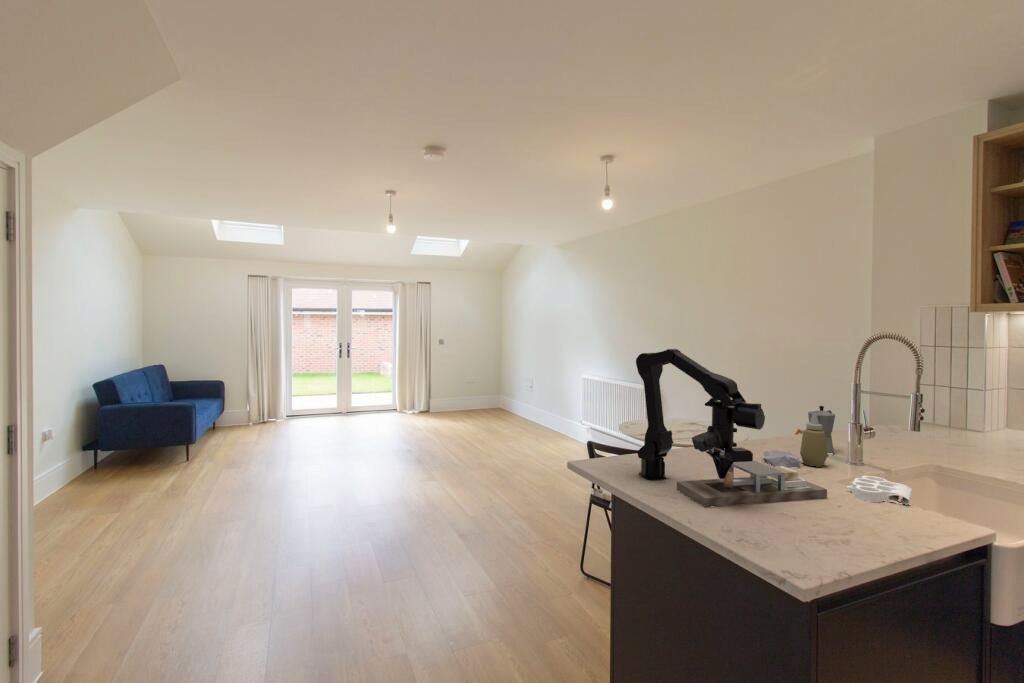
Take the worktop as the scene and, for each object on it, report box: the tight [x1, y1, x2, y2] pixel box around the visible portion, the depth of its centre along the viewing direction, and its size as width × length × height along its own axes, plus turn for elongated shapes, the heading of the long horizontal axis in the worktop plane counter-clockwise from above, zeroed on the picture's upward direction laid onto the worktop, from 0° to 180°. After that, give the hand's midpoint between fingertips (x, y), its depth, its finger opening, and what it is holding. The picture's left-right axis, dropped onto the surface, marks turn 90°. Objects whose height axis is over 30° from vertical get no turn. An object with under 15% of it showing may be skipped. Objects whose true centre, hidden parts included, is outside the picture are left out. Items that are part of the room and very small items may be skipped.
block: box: [769, 466, 799, 485], centre depth 140 cm, size 6×6×4 cm
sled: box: [724, 472, 808, 487], centre depth 139 cm, size 23×8×4 cm, turn 101°
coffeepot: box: [807, 405, 836, 454], centre depth 186 cm, size 15×9×18 cm, turn 125°
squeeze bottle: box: [799, 414, 828, 468], centre depth 168 cm, size 8×8×18 cm
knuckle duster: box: [845, 475, 913, 506], centre depth 138 cm, size 3×18×15 cm
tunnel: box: [728, 460, 785, 493], centre depth 138 cm, size 9×12×5 cm
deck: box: [676, 476, 828, 508], centre depth 138 cm, size 38×14×2 cm, turn 101°
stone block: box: [762, 449, 801, 468], centre depth 171 cm, size 12×5×10 cm
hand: (721, 478), depth 136 cm, fingers closed, pressing on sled
